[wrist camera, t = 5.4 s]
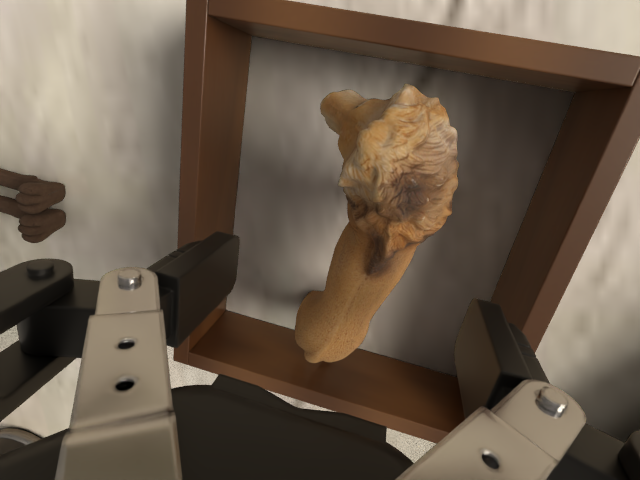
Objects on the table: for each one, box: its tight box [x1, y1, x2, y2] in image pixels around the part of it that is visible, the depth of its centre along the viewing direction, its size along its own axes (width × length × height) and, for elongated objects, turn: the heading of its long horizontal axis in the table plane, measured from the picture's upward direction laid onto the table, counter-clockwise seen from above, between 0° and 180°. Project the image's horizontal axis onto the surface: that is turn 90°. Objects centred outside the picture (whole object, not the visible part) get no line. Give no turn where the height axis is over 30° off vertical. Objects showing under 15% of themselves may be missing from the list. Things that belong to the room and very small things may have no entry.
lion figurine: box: [295, 84, 459, 363], centre depth 16 cm, size 15×5×9 cm, turn 167°
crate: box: [173, 0, 640, 443], centre depth 18 cm, size 17×18×4 cm
